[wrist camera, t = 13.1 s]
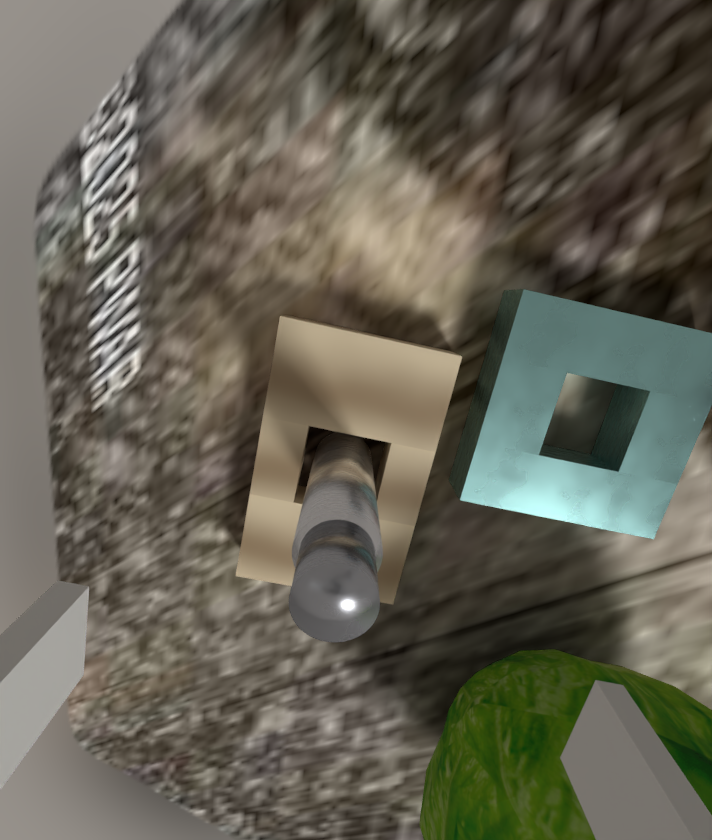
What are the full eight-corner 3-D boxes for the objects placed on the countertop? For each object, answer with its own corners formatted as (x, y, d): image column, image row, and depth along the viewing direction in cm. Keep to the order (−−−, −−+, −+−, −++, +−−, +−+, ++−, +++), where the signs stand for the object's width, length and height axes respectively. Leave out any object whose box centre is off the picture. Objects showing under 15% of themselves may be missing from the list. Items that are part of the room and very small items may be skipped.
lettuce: (544, 852, 37) (696, 1288, 21) (341, 673, 32) (329, 1059, 16) (739, 734, 34) (1101, 1136, 18) (547, 516, 29) (800, 793, 13)
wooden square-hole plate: (286, 314, 26) (279, 316, 23) (452, 351, 26) (462, 356, 24) (245, 553, 30) (235, 575, 27) (389, 580, 30) (393, 604, 28)
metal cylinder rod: (320, 426, 28) (289, 546, 14) (377, 437, 28) (400, 566, 14) (309, 479, 28) (271, 639, 15) (364, 489, 29) (375, 657, 15)
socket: (504, 290, 26) (523, 289, 23) (697, 335, 26) (739, 339, 23) (448, 480, 29) (459, 500, 26) (623, 515, 29) (653, 539, 26)
